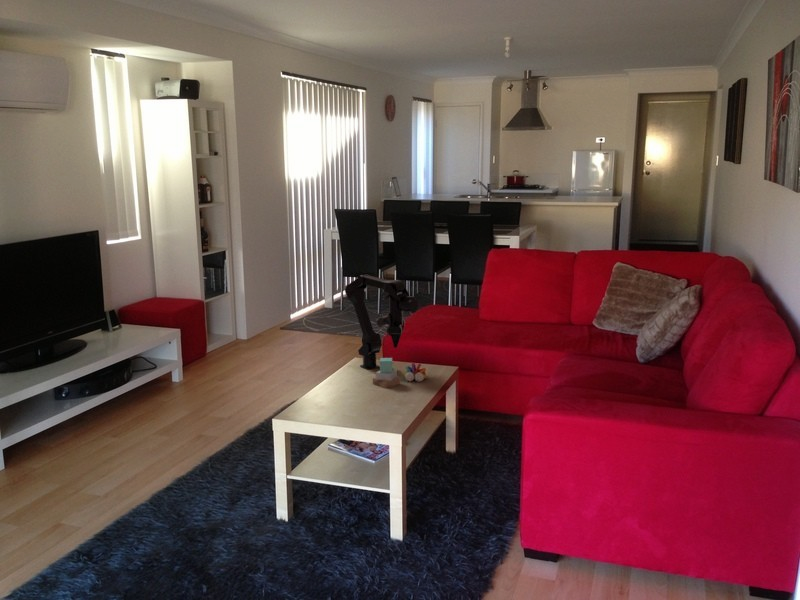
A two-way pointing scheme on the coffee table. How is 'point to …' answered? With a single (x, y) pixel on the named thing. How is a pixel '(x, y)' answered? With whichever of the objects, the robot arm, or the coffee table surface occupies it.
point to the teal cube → (385, 365)
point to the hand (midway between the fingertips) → (396, 344)
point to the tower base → (386, 382)
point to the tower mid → (386, 375)
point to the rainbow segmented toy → (415, 373)
